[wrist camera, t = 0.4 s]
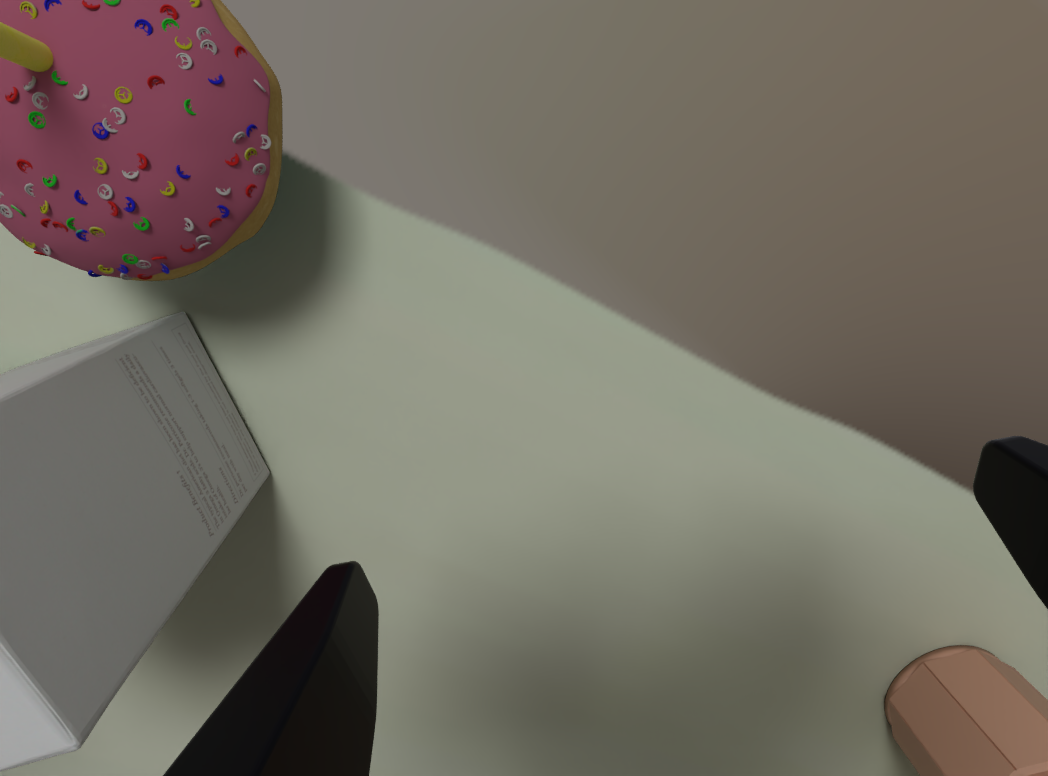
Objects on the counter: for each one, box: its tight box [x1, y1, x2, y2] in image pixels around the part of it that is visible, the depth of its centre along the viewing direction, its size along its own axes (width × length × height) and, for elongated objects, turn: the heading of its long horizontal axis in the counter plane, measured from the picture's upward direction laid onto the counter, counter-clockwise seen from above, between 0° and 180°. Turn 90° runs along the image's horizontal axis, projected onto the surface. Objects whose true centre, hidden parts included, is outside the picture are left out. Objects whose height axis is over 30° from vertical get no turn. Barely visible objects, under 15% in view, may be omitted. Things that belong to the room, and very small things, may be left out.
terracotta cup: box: [885, 645, 1048, 776], centre depth 28 cm, size 6×6×6 cm
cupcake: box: [0, 0, 282, 281], centre depth 15 cm, size 9×8×12 cm
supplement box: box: [0, 312, 270, 771], centre depth 18 cm, size 7×7×13 cm
